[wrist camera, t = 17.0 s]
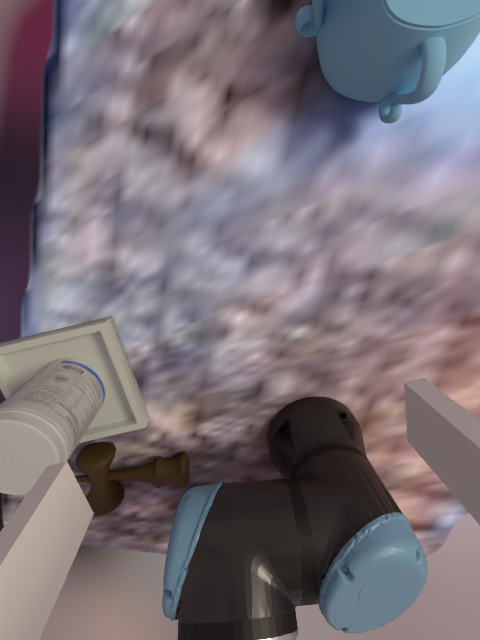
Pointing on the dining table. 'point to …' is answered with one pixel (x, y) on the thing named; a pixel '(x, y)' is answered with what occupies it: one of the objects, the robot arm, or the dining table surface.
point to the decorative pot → (389, 46)
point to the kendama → (124, 475)
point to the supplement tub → (46, 421)
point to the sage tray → (92, 347)
